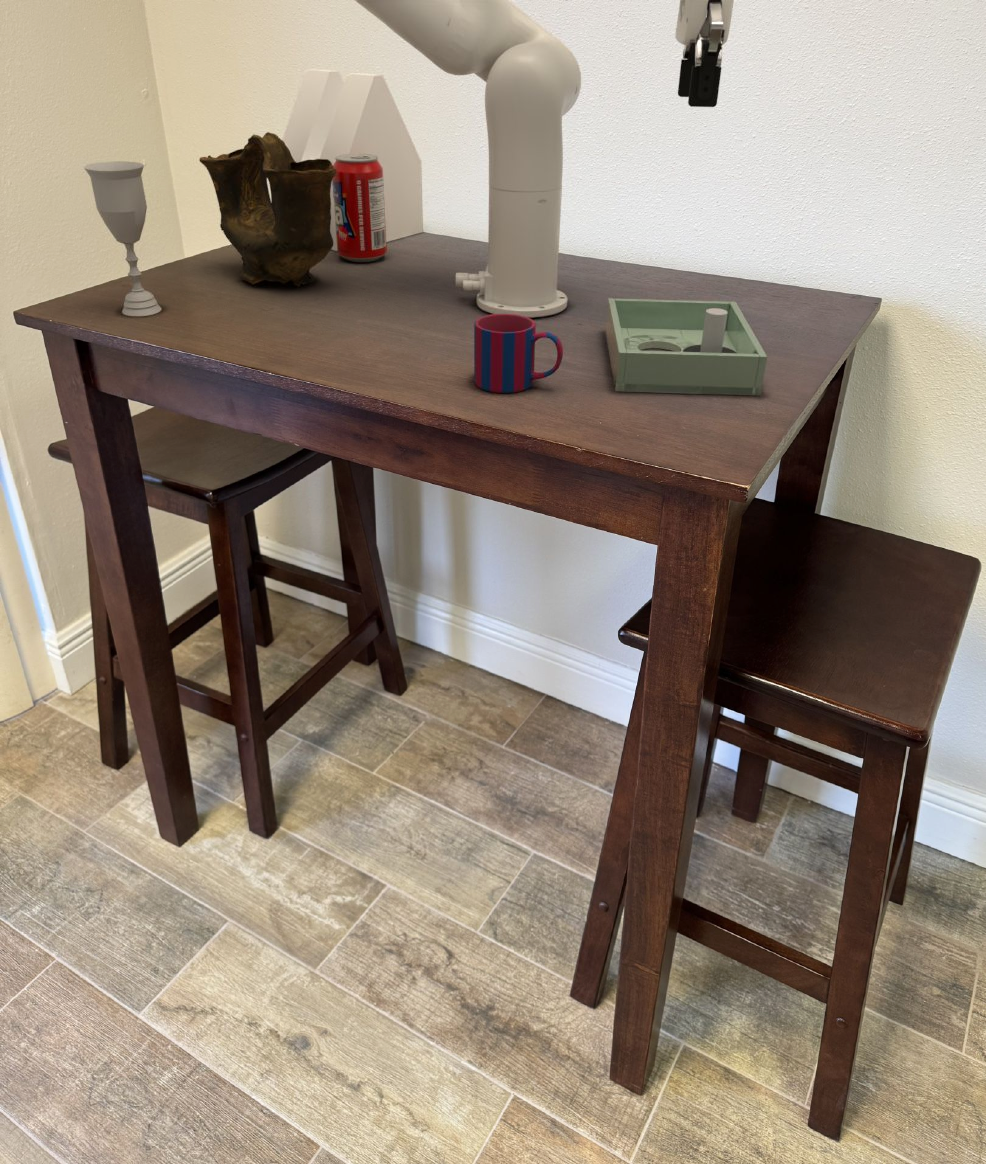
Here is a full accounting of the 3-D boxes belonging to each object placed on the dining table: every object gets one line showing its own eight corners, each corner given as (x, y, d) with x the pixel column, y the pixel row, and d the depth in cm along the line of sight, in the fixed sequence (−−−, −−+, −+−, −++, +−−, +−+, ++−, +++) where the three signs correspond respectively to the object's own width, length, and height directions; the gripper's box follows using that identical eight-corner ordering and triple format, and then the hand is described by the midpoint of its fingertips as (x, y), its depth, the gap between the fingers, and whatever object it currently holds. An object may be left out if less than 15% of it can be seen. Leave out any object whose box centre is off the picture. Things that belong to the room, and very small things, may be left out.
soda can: (384, 264, 147) (379, 161, 139) (334, 263, 147) (326, 160, 139) (389, 252, 154) (385, 152, 146) (341, 251, 154) (334, 151, 146)
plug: (684, 374, 106) (691, 319, 103) (678, 354, 111) (684, 301, 108) (741, 376, 106) (750, 321, 102) (732, 356, 111) (740, 303, 108)
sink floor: (615, 391, 104) (616, 382, 104) (605, 333, 121) (606, 325, 120) (760, 395, 104) (761, 387, 103) (730, 336, 120) (731, 328, 120)
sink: (615, 391, 104) (618, 352, 102) (605, 333, 121) (608, 298, 118) (760, 395, 104) (767, 356, 101) (730, 336, 120) (735, 301, 118)
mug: (491, 367, 110) (492, 309, 106) (569, 383, 106) (573, 324, 102) (463, 386, 105) (463, 326, 101) (544, 403, 101) (547, 341, 97)
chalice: (180, 307, 127) (156, 164, 118) (145, 321, 122) (116, 172, 112) (138, 299, 130) (111, 159, 120) (102, 313, 125) (70, 167, 115)
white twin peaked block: (359, 219, 173) (350, 65, 160) (423, 231, 166) (419, 71, 152) (281, 238, 160) (264, 72, 147) (346, 253, 153) (334, 79, 139)
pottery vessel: (362, 291, 135) (353, 140, 124) (300, 306, 129) (285, 148, 118) (263, 257, 150) (247, 120, 139) (202, 270, 143) (181, 126, 132)
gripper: (673, -73, 109) (656, 92, 119) (692, -79, 95) (672, 109, 104) (737, -72, 109) (716, 93, 118) (767, -78, 95) (740, 111, 104)
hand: (696, 101), depth 111 cm, fingers open, 9 cm apart
